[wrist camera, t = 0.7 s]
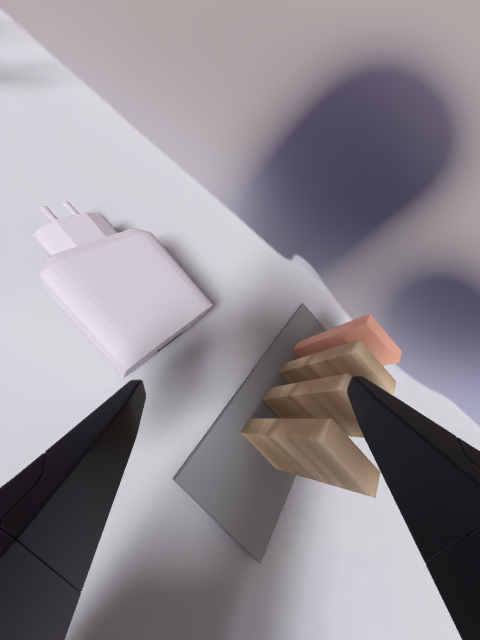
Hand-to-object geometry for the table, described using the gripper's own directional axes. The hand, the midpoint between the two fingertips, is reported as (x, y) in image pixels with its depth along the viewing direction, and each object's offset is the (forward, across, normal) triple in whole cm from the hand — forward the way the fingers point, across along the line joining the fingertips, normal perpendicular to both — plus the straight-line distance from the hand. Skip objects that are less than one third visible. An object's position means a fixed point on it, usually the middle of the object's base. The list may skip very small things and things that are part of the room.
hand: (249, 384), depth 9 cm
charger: (+14, +12, +1) cm, 18 cm away
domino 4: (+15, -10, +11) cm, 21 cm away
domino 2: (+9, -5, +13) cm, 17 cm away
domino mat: (+11, -6, +13) cm, 18 cm away
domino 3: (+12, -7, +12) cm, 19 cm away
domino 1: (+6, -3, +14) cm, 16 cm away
